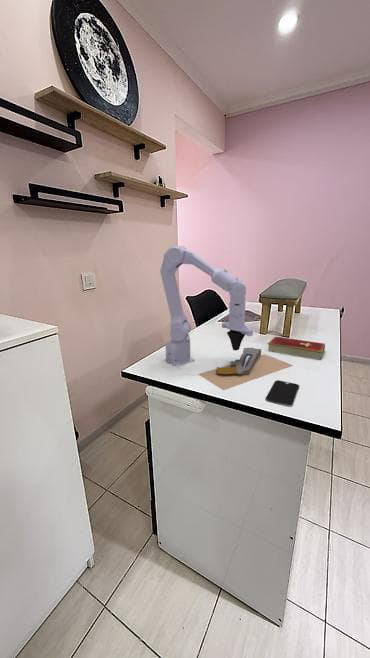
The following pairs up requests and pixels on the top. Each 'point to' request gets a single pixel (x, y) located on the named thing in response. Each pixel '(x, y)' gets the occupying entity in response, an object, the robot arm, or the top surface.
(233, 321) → the robot arm
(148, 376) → the top surface
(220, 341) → the top surface
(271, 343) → the hardcover book
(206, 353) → the top surface
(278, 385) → the smartphone
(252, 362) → the gun
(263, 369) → the mat
